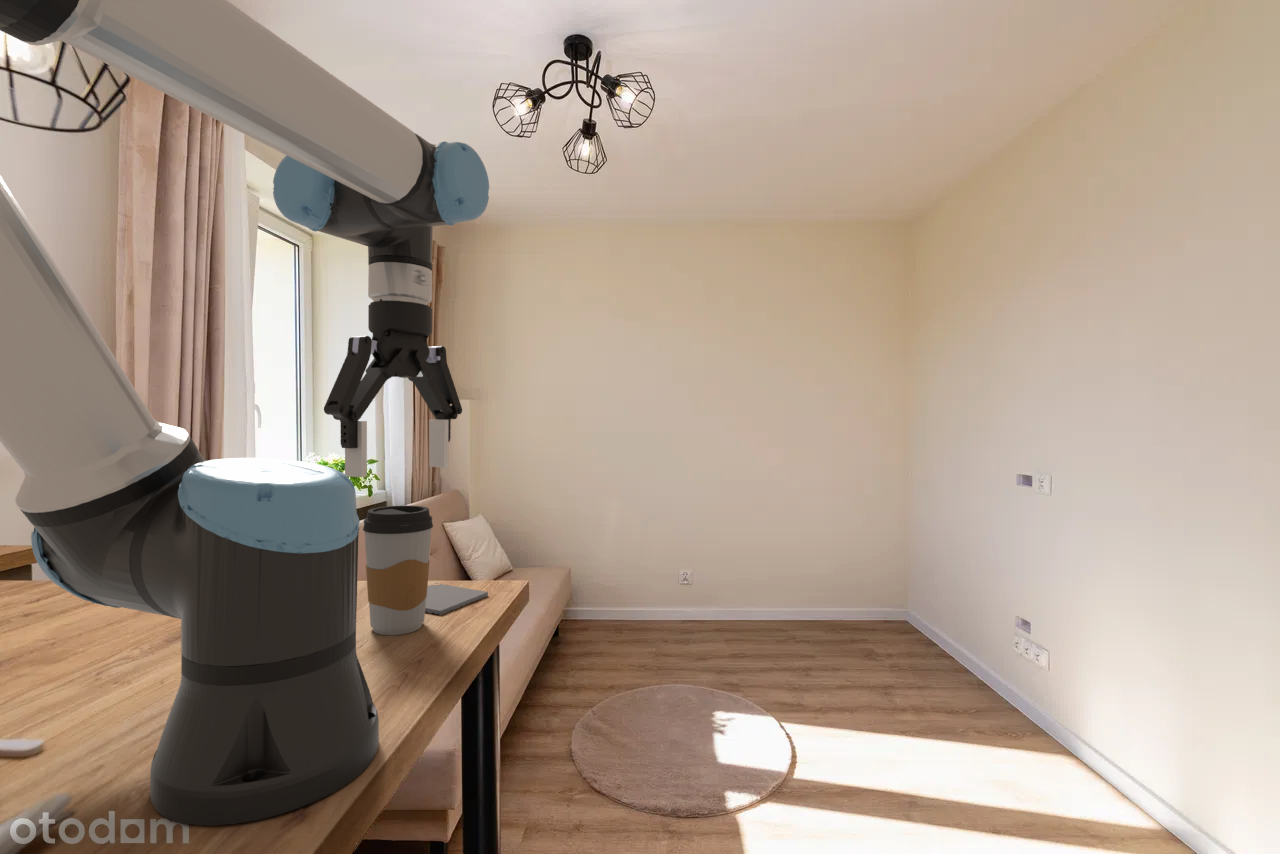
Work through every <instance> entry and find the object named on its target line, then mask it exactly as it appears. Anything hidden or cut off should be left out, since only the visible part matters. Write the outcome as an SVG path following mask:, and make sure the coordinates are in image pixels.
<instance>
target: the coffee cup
mask: <svg viewBox="0 0 1280 854" xmlns="http://www.w3.org/2000/svg"><path fill="white" fill-rule="evenodd" d="M433 523H434V522H433V516H431V514H430V508H429V507H426V506H423V505H422V506H421V505H387V506H380V507H374V508H370V509H368V510H367V513H366V518H364V520H363V527H362V530H363V532H364V544H365V558H366V559H365V560H366V565H365V572H366V573H365V574H366V584H367V585H366V587H367V601H368V604H369V620H370V621H369V623H370V627H371V628H372V631H373V632H374V633H375V634H378V635H382V636H399V635H405V634H409V633H413V632H415V631H418V630H419V629H420V628H421V627H423V626H422V625H423V623H424V622H425V616H426V615H425V614H426V612H425V604H426V597H427V586H429V585H428V583H429V572H430V571H429V569H430V549H431V548H430V547H431V538H432V536H431V535H432V528H433V527H434V525H433Z"/></svg>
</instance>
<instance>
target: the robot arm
mask: <svg viewBox="0 0 1280 854" xmlns="http://www.w3.org/2000/svg"><path fill="white" fill-rule="evenodd" d="M0 31H1V32H3V33H4V34H7V35H9V36H11V37H13V38H15V39H17V40H19V41H21V42H23V43H26V44H28V45H30V46H37V47H38V46H44V45H47V44H51V43H56V42H57V43H58V42H63V43H65V44H67V45H69V46H71V47H73V48H74V49H77V50H79V51H80V52H82V53H85V54H86V55H88V56H90V57H93V58H94V59H96V60H99V61H101V62H102V63H104V64H106V65H109V66H110V67H112V68H115V69H116V70H118V71H120V72H122V73H123V74H125V75H128V76H129V77H132V78H133V79H136V80H138V81H140V82H142V83H143V84H146V85H147V86H149V87H152V88H153V89H154V90H157V91H159V92H161V93H163V94H165V95H167V96H169V97H171V98H173V99H175V100H177V101H180V102H181V103H183V104H185V105H187V106H189V107H191V108H193V109H194V110H197V111H199V112H200V113H202V114H204V115H207V116H209V117H210V118H212V119H215V120H216V121H218V122H220V123H222V124H224V125H226V126H228V127H230V128H232V129H234V130H236V131H237V132H240V133H242V134H244V135H246V136H248V137H250V138H251V139H253V140H256V141H257V142H259V143H261V144H263V145H265V146H268V147H269V148H270V149H272V150H273V149H274V150H275V151H277V152H279V153H281V154H283V155H285V156H283V158H282V159H281V160H280V162H279V164H278V166H277V168H276V170H275V173H274V175H273V179H272V184H273V188H272V190H273V191H272V195H273V199H274V203H275V205H276V207H277V209H278V211H279V212H280V213H281V214H282V216H283V217H284V218H286V219H287V220H289V221H291V222H293V223H296V224H298V225H300V226H302V227H305V228H308V229H309V230H310V231H312V232H319V233H323V234H326V235H329V236H333V237H336V238H340V239H341V240H342V239H343V240H347V241H350V242H353V243H355V244H359V245H363V246H365V247H367V255H368V256H367V257H368V259H367V261H368V274H367V275H368V279H367V281H368V285H367V286H368V291H367V294H368V298H369V299H371V300H372V302H371V301H370V303H369V305H367V306H368V318H367V320H368V322H367V323H368V331H369V332H370V333H371V334H372V337H370V336H369V335H358V336H356V335H355V336H350V337H349V338H348V342H347V352H346V357H345V358H344V361H343V363H342V365H341V368H340V371H339V373H338V374H337V377H336V380H335V382H334V384H333V386H332V388H331V391H330V393H329V396H328V398H327V399H326V402H325V405H324V408H323V411H324V413H325V414H326V415H330V416H332V417H333V419H335V420H337V421H339V422H340V447H341V448H342V449H344V473H343V472H341V471H340V470H338V469H336V468H333V467H330V466H327V465H324V464H318V463H314V462H313V463H312V462H309V461H308V462H307V461H300V460H293V459H292V460H291V459H289V460H284V459H282V460H281V459H276V458H270V457H269V458H267V457H266V458H265V457H232V458H231V457H228V458H217V459H210V460H206V459H205V458H204V457H203V455H202V453H201V452H200V450H199V448H198V446H197V445H196V443H195V442H194V441H193V439H192V436H191V435H190V434H189V433H188V431H187V430H186V429H185V428H182V427H180V426H177V425H176V426H175V425H171V424H167V423H163V422H160V421H158V420H156V419H155V418H154V417H153V416H152V414H151V412H150V411H149V409H148V408H147V406H146V404H145V402H144V401H143V400H142V398H141V396H140V394H139V393H138V391H137V390H136V389H135V386H134V385H133V383H132V382H131V381H130V379H129V377H128V376H127V374H126V372H125V371H124V369H123V368H122V366H121V365H120V362H119V361H118V359H116V357H115V355H114V353H113V352H112V351H111V349H110V346H108V344H107V342H106V341H105V339H104V338H103V335H101V333H100V331H99V330H98V328H97V327H96V325H95V323H94V322H93V320H92V318H91V317H90V315H89V314H88V312H87V311H86V308H85V307H84V306H83V304H82V302H81V301H80V300H79V297H78V296H77V294H76V293H75V291H74V290H73V288H72V287H71V285H70V283H69V282H68V281H67V278H66V277H65V276H64V274H63V272H62V271H61V270H60V268H59V266H58V265H57V263H56V262H55V260H54V258H53V257H52V255H51V253H50V252H49V250H48V249H47V247H46V245H45V243H44V242H43V240H42V239H41V238H40V236H39V234H38V233H37V231H36V230H35V228H34V226H33V225H32V223H31V222H30V221H29V219H28V217H27V216H26V213H24V210H23V209H22V208H21V206H20V204H19V202H18V201H17V199H16V198H15V197H14V195H13V193H12V192H11V190H10V188H9V187H8V185H7V184H6V182H5V181H4V179H3V177H2V176H1V175H0V443H1V444H2V446H3V447H4V448H5V449H6V451H7V453H9V454H10V455H11V457H12V458H13V459H14V460H15V462H16V463H17V465H18V466H19V467H20V469H21V470H22V471H23V473H24V479H23V481H22V483H21V484H20V487H19V489H18V492H17V494H16V496H15V504H16V506H17V508H18V509H19V510H20V511H21V512H22V514H23V515H24V516H25V518H26V519H27V520H28V522H30V524H31V525H32V526H33V531H31V533H30V534H31V536H30V540H31V543H30V544H31V549H32V553H33V556H34V558H35V560H36V562H37V564H38V566H39V567H40V570H41V571H42V572H43V573H44V574H45V576H47V578H48V579H49V580H50V581H52V583H54V584H55V585H56V586H58V587H59V588H61V589H63V590H65V591H66V592H68V593H70V594H71V595H73V596H75V597H77V598H80V599H81V600H84V601H87V602H91V603H92V604H97V605H102V606H104V607H111V608H117V609H119V608H123V609H128V610H134V611H139V612H144V613H149V614H155V615H158V616H160V615H161V616H165V617H171V618H174V619H179V620H180V634H181V635H180V637H181V638H180V639H181V640H180V641H181V643H180V645H181V647H180V648H181V649H180V652H181V666H180V667H181V671H180V674H181V675H180V677H181V679H180V684H179V687H178V690H177V693H176V696H175V698H174V701H173V702H172V706H171V708H170V712H169V714H168V718H167V720H166V722H165V726H164V728H163V730H162V732H161V733H162V734H161V737H160V739H159V743H158V746H157V749H156V750H155V753H154V754H153V758H152V761H151V766H150V782H149V783H150V784H149V785H150V794H149V795H150V802H151V805H152V806H153V808H154V810H155V811H156V812H157V813H159V815H161V816H163V817H164V818H166V819H168V820H171V821H174V822H178V823H182V824H185V825H186V824H187V825H196V826H224V825H233V824H234V825H235V824H241V823H247V822H253V821H258V820H264V819H267V818H271V817H274V816H275V817H276V816H278V815H282V814H285V813H288V812H291V811H294V810H297V809H300V808H302V807H305V806H307V805H310V804H312V803H315V802H317V801H319V800H321V799H323V798H325V797H327V796H328V795H331V794H332V793H334V792H336V791H338V790H339V789H341V788H342V787H344V786H346V785H348V784H349V783H350V782H352V781H353V780H355V778H357V777H358V776H360V775H361V773H362V772H364V770H365V769H367V768H368V766H369V765H370V764H371V763H372V761H373V760H374V758H375V757H376V755H377V752H378V749H379V741H380V740H379V739H380V738H379V735H380V733H379V732H380V731H379V729H380V728H379V727H380V726H379V725H380V721H379V714H378V710H377V707H376V705H375V704H374V701H373V697H372V695H371V692H370V689H369V686H368V685H369V684H368V682H367V680H366V677H365V675H364V672H363V668H362V666H361V663H360V660H359V658H358V655H357V654H358V653H357V609H358V608H357V606H358V605H357V604H358V601H357V600H358V567H359V566H358V565H359V563H358V562H359V531H360V519H359V516H358V513H357V498H356V497H357V495H356V489H355V485H354V484H353V482H352V480H351V479H350V478H349V477H354V478H366V477H368V430H367V429H368V421H367V420H360V419H361V418H362V416H363V415H364V414H365V412H366V411H367V409H368V408H369V406H370V405H371V403H372V402H373V401H374V399H375V398H376V396H377V395H378V393H379V392H380V391H381V389H382V388H383V386H384V385H385V383H386V382H387V380H389V379H391V378H393V377H395V378H403V379H406V378H407V379H408V381H411V383H413V385H414V386H415V387H416V389H417V390H418V392H419V394H420V396H421V397H422V399H423V401H424V402H425V404H426V406H427V407H428V409H429V411H430V412H431V414H432V416H433V417H434V419H431V418H430V419H429V420H428V424H429V425H428V426H429V427H428V433H429V434H428V436H429V437H428V438H429V439H428V451H429V452H428V467H429V468H439V469H440V468H443V469H445V468H447V469H448V468H449V443H450V441H451V429H452V428H451V426H452V425H451V423H452V422H451V421H452V420H456V419H457V418H458V416H459V415H461V414H462V412H463V406H462V404H461V402H460V398H459V395H458V392H457V390H456V386H455V384H454V379H453V378H452V375H451V371H450V368H449V366H448V361H447V350H446V347H445V346H444V345H437V346H433V345H432V346H429V345H428V338H429V337H430V336H431V335H432V334H433V309H432V308H431V306H430V305H428V304H430V303H431V302H432V301H433V263H432V261H433V230H434V229H433V228H434V227H436V226H438V227H439V226H446V225H447V226H454V225H455V224H458V223H463V222H470V221H473V220H476V219H478V218H479V217H481V216H482V215H483V213H485V211H486V210H487V207H488V204H489V199H490V196H489V193H490V191H489V190H490V183H489V176H488V172H487V169H486V166H485V163H484V162H483V160H482V158H481V156H480V155H479V154H478V153H477V151H476V150H475V149H474V148H473V147H472V146H470V144H467V143H464V142H460V141H452V142H448V141H446V140H445V141H441V142H439V143H438V144H434V143H430V142H429V141H427V140H426V139H425V138H423V137H422V136H420V134H418V133H415V132H414V131H413V130H411V128H408V127H407V126H406V125H404V124H403V123H401V122H400V121H399V120H397V118H394V117H393V116H391V115H390V114H389V113H387V111H385V110H383V109H382V108H380V107H379V106H378V105H376V104H374V103H373V102H372V101H371V100H369V99H367V98H366V97H364V95H362V94H360V93H359V92H358V91H356V90H355V89H353V88H352V87H350V86H349V85H347V84H346V83H345V82H343V81H342V80H341V79H339V78H338V77H336V76H334V74H332V73H330V71H328V70H327V69H325V68H323V67H322V66H321V65H320V64H318V63H316V62H315V61H313V60H312V59H311V58H310V57H308V56H307V55H305V54H304V53H303V52H301V51H299V50H298V49H296V48H295V47H294V46H293V45H291V44H290V43H288V42H287V41H285V40H283V39H282V38H281V37H280V36H278V35H277V34H275V33H274V32H272V31H271V30H270V29H269V28H267V27H265V25H262V24H261V23H260V22H258V21H257V20H255V18H253V17H251V15H248V14H247V13H246V12H244V11H243V10H241V9H240V8H238V6H236V5H234V4H233V3H231V2H230V1H229V0H0ZM371 356H372V357H373V359H372V361H371V362H370V364H369V361H370V358H371Z"/></svg>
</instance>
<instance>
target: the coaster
mask: <svg viewBox="0 0 1280 854" xmlns="http://www.w3.org/2000/svg"><path fill="white" fill-rule="evenodd" d="M435 584H440V585H433V584H430V585H428V586H427V597H426V604H425V613H427V612H428V614H432V613H434V614H433V615H437V614H439V615H438V616H441V614H442V615H445V614H447V613H449V612H448V611H450V612H451V610H452V611H454V610H456V608H457V609H459V608H461V606H462V607H464V606H467V605H469V604H472V603H473V601H474V602H476V600H477V601H479V600H481V599H484V598H487V597H488V596H489V592H488V591H484V590H480V589H479V590H478V589H473V588H468V587H467V588H466V587H461V586H454V585H448V584H444V583H443V584H442V583H435ZM471 602H472V603H471ZM468 603H469V604H468ZM466 604H467V605H466ZM458 607H459V608H458ZM446 612H447V613H446ZM444 613H445V614H444Z"/></svg>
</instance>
